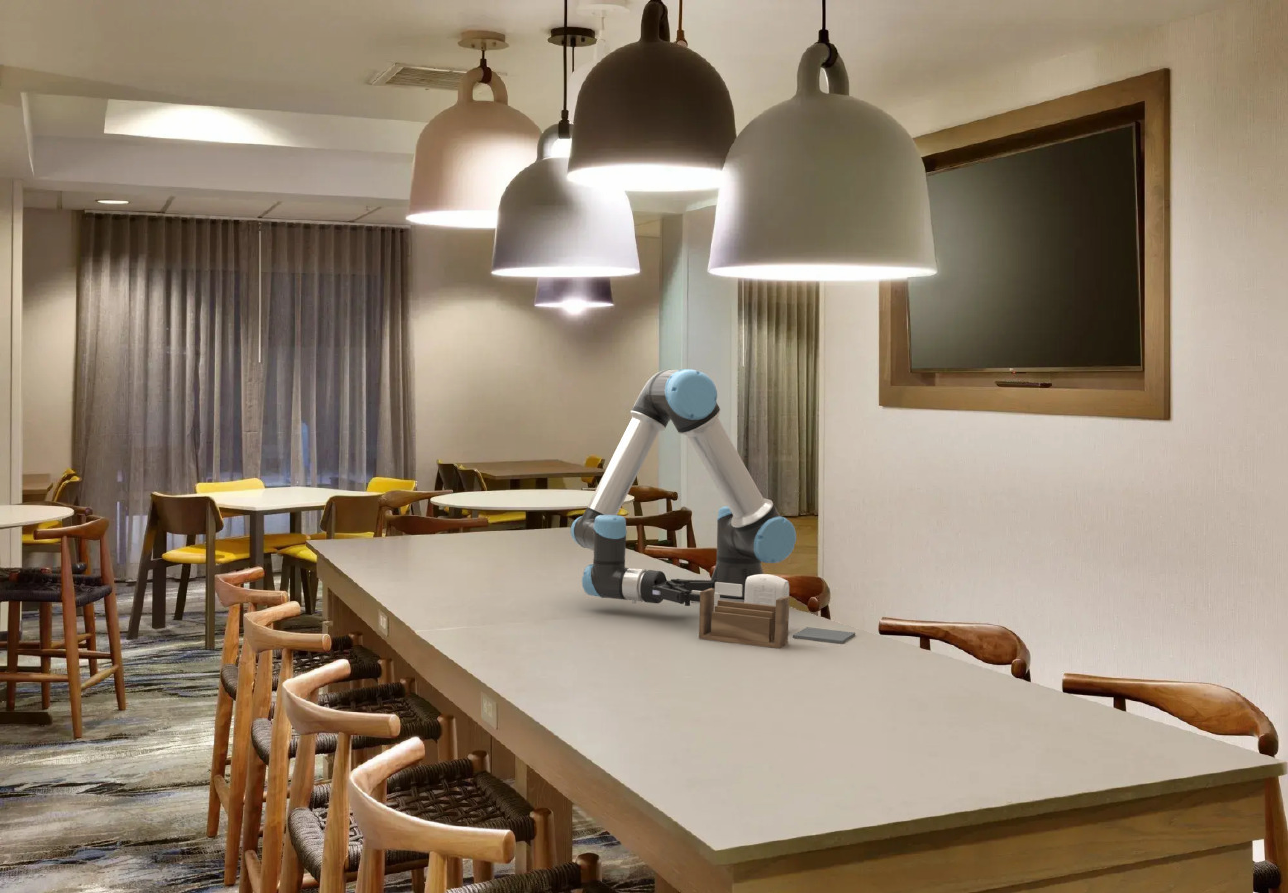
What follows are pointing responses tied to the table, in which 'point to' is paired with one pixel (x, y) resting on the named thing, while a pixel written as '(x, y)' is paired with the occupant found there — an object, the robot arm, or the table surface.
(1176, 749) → the table surface
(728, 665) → the table surface
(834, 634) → the pad
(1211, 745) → the table surface
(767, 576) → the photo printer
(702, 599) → the offcut rack
